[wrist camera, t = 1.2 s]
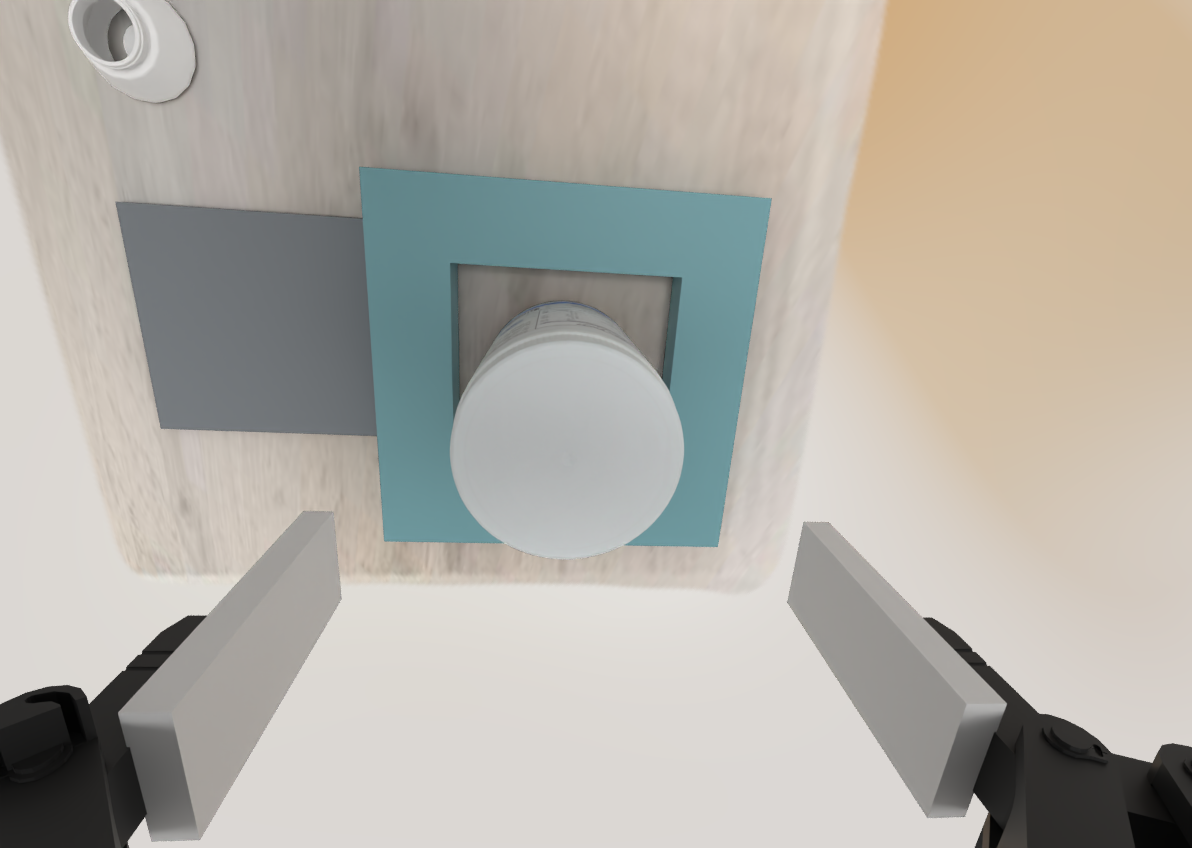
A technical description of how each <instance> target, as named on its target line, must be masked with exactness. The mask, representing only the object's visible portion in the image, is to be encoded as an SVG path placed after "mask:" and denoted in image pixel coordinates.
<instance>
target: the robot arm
mask: <svg viewBox="0 0 1192 848" xmlns="http://www.w3.org/2000/svg"><path fill="white" fill-rule="evenodd" d="M340 601H341V587H340V576H339V566H338V555H337V545H336V534H335V523H334V513H333V512H324V511H303V512H302V513H301V514H300V516H299V517H298V518H297V519H296V520H295V521H294V522H293V523H292V524H291V525H290V526H289V527H288V529H287V530H286V531H285V532H284V533H283V534H282V535H281V536H280V537H279V538H278V539H277V541H276V542H275V543H274V544H273V545H272V546H271V547H270V548H269V549H268V550H267V551H266V552H265V554H264V555H263V556H262V557H261V558H260V559H259V560H258V561H257V562H256V563H255V564H254V565H253V567H252V568H251V569H250V570H249V571H248V572H247V573H246V574H245V575H244V576H243V577H242V579H241V580H240V581H239V582H238V583H237V584H236V585H235V586H234V587H233V588H232V589H231V590H230V592H229V593H228V594H227V595H226V596H225V597H224V598H223V599H222V600H221V601H220V602H219V604H218V605H217V606H216V607H215V608H214V609H213V610H212V611H211V612H210V613H209V614H208V615H207V616H187V617H185V618H183V619H182V620H180V621H178V622H177V623H175V624H174V625H172V626H170V627H169V628H167V629H166V630H164V631H162V632H161V633H160V634H159V635H158V636H157V637H156V638H155V639H154V640H153V641H152V642H151V643H150V644H149V645H148V646H147V647H146V648H145V649H144V650H143V651H142V654H141V655H138V656H137V657H136V658H135V659H134V660H133V661H132V662H131V663H130V664H129V665H128V666H127V667H126V670H125V671H122V672H121V673H120V674H119V675H118V676H117V677H116V678H115V679H114V680H113V681H112V682H111V683H110V684H109V685H108V686H107V687H106V688H105V689H104V690H103V691H102V692H101V693H100V694H99V695H98V696H97V697H96V698H95V699H94V700H93V701H92V702H91V703H90V704H88V700H87V697H86V695H85V694H84V692H83V691H82V690H81V688H77V687H73V686H69V685H63V686H51V687H45V688H42V689H38V690H35V691H31V692H27V693H24V694H22V695H20V696H18V697H15V698H13V699H11V700H9V701H6V702H4V703H2V704H0V848H129V846H128V842H127V841H128V840H129V838H130V837H131V836H132V834H133V833H134V831H135V830H136V829H137V827H138V826H139V824H140V823H141V822H142V820H143V819H144V817H145V818H146V822H147V826H148V830H149V833H150V837H151V841H152V842H153V841H185V840H200V839H201V837H202V836H203V834H204V832H205V831H206V829H207V827H208V825H209V824H210V822H211V820H212V818H213V817H214V815H215V813H216V812H217V810H218V808H219V807H220V805H221V803H222V801H223V800H224V798H225V796H226V795H227V793H228V791H229V790H230V788H231V786H232V785H233V783H234V781H235V779H236V778H237V776H238V774H239V773H240V771H241V769H242V767H243V766H244V764H245V762H246V761H247V759H248V757H249V756H250V754H251V752H252V750H253V749H254V747H255V745H256V744H257V742H258V740H259V739H260V737H261V735H262V734H263V732H264V730H265V728H266V727H267V725H268V723H269V722H270V720H271V718H272V717H273V715H274V713H275V711H276V710H277V708H278V706H279V704H280V703H281V701H282V700H283V698H284V696H285V694H286V693H287V691H288V689H289V688H290V686H291V684H292V683H293V681H294V679H295V677H296V676H297V674H298V672H299V671H300V669H301V667H302V665H303V664H304V662H305V660H306V659H307V657H308V655H309V654H310V652H311V650H312V649H313V647H314V645H315V643H316V642H317V640H318V638H319V637H320V635H321V633H322V632H323V630H324V628H325V626H326V625H327V623H328V621H329V620H330V618H331V616H332V615H333V613H334V611H335V609H336V608H337V606H338V604H339V603H340ZM787 603H788V604H789V606H790V607H791V609H792V610H793V612H794V613H795V615H796V617H797V618H798V620H799V621H800V623H801V624H802V626H803V627H804V629H805V630H806V632H807V633H808V635H809V637H810V638H811V640H812V641H813V643H814V644H815V646H816V647H817V649H818V650H819V652H820V653H821V655H822V656H823V658H824V659H825V661H826V663H827V664H828V666H829V667H830V669H831V670H832V672H833V673H834V675H835V677H836V678H837V679H838V681H839V683H840V684H841V686H842V687H843V689H844V690H845V692H846V693H847V695H848V696H849V698H850V700H851V701H852V703H853V704H854V706H855V707H856V709H857V710H858V712H859V713H860V715H861V717H862V718H863V720H864V721H865V722H866V724H867V725H868V727H869V729H870V730H871V732H872V733H873V735H874V737H875V738H876V739H877V741H878V743H879V744H880V746H881V747H882V749H883V750H884V752H885V753H886V755H887V757H888V758H889V760H890V761H891V763H892V764H893V766H894V767H895V769H896V770H897V772H898V773H899V775H900V777H901V778H902V780H903V781H904V783H905V784H906V786H907V787H908V789H909V790H910V792H911V793H912V795H913V797H914V798H915V800H916V801H917V803H918V804H919V806H920V807H921V809H922V810H923V812H924V813H925V815H926V816H927V818H942V817H965V815H966V812H967V810H968V807H969V804H970V802H971V799H972V796H973V794H974V793H975V794H976V796H977V797H978V798H979V800H980V801H981V802H982V804H983V805H984V806H985V808H986V809H987V810H988V811H989V813H988V815H987V818H986V821H985V823H984V826H983V828H982V831H981V833H980V836H979V838H978V841H977V843H976V846H975V848H1192V747H1189V746H1183V745H1178V744H1173V743H1172V744H1166V745H1162V746H1161V748H1160V750H1159V751H1158V753H1157V755H1156V757H1155V759H1154V761H1153V763H1150V762H1146V761H1141V760H1137V759H1133V758H1129V757H1125V756H1120V755H1116V754H1112V753H1111V752H1110V751H1109V750H1108V749H1107V748H1106V747H1105V746H1104V745H1103V744H1102V743H1101V742H1100V741H1099V740H1098V739H1097V738H1095V737H1094V736H1092V735H1091V734H1089V733H1088V732H1087V731H1085V730H1084V729H1083V728H1081V727H1079V726H1076V725H1075V724H1072V723H1071V722H1069V721H1066V720H1064V719H1061V718H1058V717H1055V716H1052V715H1048V714H1039V713H1037V711H1036V710H1035V709H1033V707H1032V706H1030V705H1029V704H1028V703H1027V702H1026V701H1025V700H1024V699H1023V698H1022V697H1021V696H1020V695H1019V694H1018V693H1017V692H1016V691H1015V690H1014V689H1013V688H1012V687H1011V686H1010V685H1009V684H1008V683H1007V682H1006V681H1005V680H1004V679H1003V678H1002V677H1001V676H1000V675H999V674H998V673H997V672H995V671H994V670H993V669H992V668H991V667H990V666H987V665H986V662H985V661H984V660H983V659H982V658H981V657H980V656H979V655H978V654H977V653H976V652H973V651H972V648H971V647H970V646H969V645H968V644H967V643H966V642H964V640H963V639H962V638H960V637H959V636H958V635H957V634H956V633H955V632H954V631H952V630H951V629H949V628H948V627H946V626H944V625H943V624H941V623H940V622H938V621H937V620H935V619H933V618H922V617H921V616H920V615H919V614H918V613H917V611H916V610H915V609H914V608H913V607H911V605H910V604H909V603H908V602H907V601H906V600H905V599H904V598H903V597H902V596H901V595H900V594H899V593H898V592H897V591H896V590H895V589H894V588H893V587H892V586H891V585H890V584H889V583H888V582H887V581H886V580H885V579H884V578H883V577H882V576H881V575H880V574H879V573H878V572H877V571H876V570H875V569H874V568H873V567H872V566H871V565H870V564H869V563H868V562H867V561H866V560H865V559H864V558H863V557H862V556H861V555H860V554H859V553H858V551H857V550H856V549H855V548H854V547H853V546H852V545H851V544H850V543H848V541H847V540H846V539H845V538H844V537H843V536H842V535H841V534H840V533H839V532H838V531H837V530H836V529H835V528H834V527H833V526H832V525H831V524H830V523H829V522H804V523H803V527H802V532H801V537H800V542H799V547H798V552H797V557H796V562H795V567H794V572H793V577H792V582H791V587H790V591H789V596H788V602H787Z"/></svg>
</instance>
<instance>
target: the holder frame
mask: <svg viewBox="0 0 1192 848" xmlns="http://www.w3.org/2000/svg"><path fill="white" fill-rule="evenodd" d="M359 171H360V186H361V201H362V216H363V231H364V246H365V261H366V276H367V291H368V306H369V321H370V336H371V351H372V366H373V380H374V395H375V410H376V425H377V440H378V455H379V470H380V485H381V500H382V515H383V530H384V541H395V542H455V543H503V542H502V541H500V540H498V539H497V538H495V537H494V536H493V535H491V534H490V533H489V532H488V531H487V530H485V529H484V528H483V527H482V526H481V525H480V524H479V523H478V522H477V520H476V519H475V518H474V517H473V516H472V514H471V513H470V512H469V510H468V509H467V508H466V506H465V504H464V502H463V501H462V499H461V497H460V495H459V492H458V490H457V487H456V484H455V482H454V478H453V474H452V469H451V462H450V440H451V434H452V428H453V423H454V418H455V414H456V410H457V407H458V404H459V402H460V393H459V329H458V264H473V265H489V266H505V267H521V268H537V269H553V270H569V271H585V272H601V273H617V274H633V275H649V276H665V277H673V282H672V292H671V301H670V310H669V320H668V329H667V339H666V348H665V358H664V367H663V376H662V380H663V382H664V383H665V385H666V386H667V388H668V390H669V392H670V394H671V397H672V399H673V401H674V404H675V407H676V410H677V412H678V415H679V418H680V422H681V426H682V431H683V439H684V459H683V466H682V471H681V475H680V479H679V483H678V485H677V487H676V490H675V492H674V494H673V496H672V498H671V500H670V502H669V503H668V505H667V506H666V508H665V509H664V511H663V512H662V513H661V515H660V516H659V517H658V518H657V519H656V520H655V522H654V523H653V524H652V525H651V526H650V527H649V528H648V529H646V530H645V531H644V532H643V533H642V534H640V535H639V536H638V537H636V538H635V539H633V540H632V541H630V542H629V543H627V544H625V545H633V546H693V547H718V542H719V536H720V529H721V523H722V516H723V510H724V504H725V497H726V491H727V484H728V478H729V471H730V465H731V458H732V452H733V445H734V439H735V432H736V426H737V420H738V413H739V407H740V400H741V394H742V387H743V381H744V374H745V368H746V361H747V355H748V349H749V342H750V336H751V329H752V323H753V316H754V310H755V303H756V297H757V290H758V284H759V277H760V271H761V265H762V258H763V252H764V245H765V239H766V232H767V226H768V219H769V213H770V206H771V200H772V198H759V197H746V196H733V195H720V194H707V193H694V192H681V191H668V190H655V189H642V188H629V187H616V186H603V185H590V184H577V183H564V182H551V181H538V180H525V179H512V178H499V177H486V176H473V175H460V174H447V173H434V172H421V171H408V170H395V169H382V168H369V167H359Z"/></svg>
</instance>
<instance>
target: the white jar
mask: <svg viewBox="0 0 1192 848" xmlns="http://www.w3.org/2000/svg"><path fill="white" fill-rule="evenodd" d="M121 9H124V10H125V11H126V13H127V14H128V16H129V18H130V19H131V21H132V24H133V25H131V26H129V27H128V28H127V30H126V31H125V33H124V37H123V44H124V48H125V51H126V53H127V55H128V57H126V58H125V59H123V60H121V61H117V62H115V61H114V59H113V57H112V55H111V53H110V50H109V47H108V37H107V31H108V28H109V25H110V22H111V19H112V18H113V17H114V16H115V15H116V14H117V13H118V12H119V11H120V10H121ZM68 24H69V28H70V31H71V34H72V36H73V38H74V40H75V42H76V43H77V45H78V46H79V48H80V49H81V50H82V51H83V53H84V55H85V56H86V57H87V59H88V60H89V61H90V63H91V64H92V65H93V66H94V68H95V69H96V70H97V71H98V72H99V73H100V74H101V75H102V76H103V78H104V79H105V80H106V81H107V82H108V83H109V84H110V85H111V86H112V87H114V88H116V89H117V90H119V91H121V92H122V93H124V94H126V95H128V96H129V97H131V98H134V99H137V100H143V101H148V102H154V103H160V102H163V101H167V100H171V99H175V98H176V97H178V96H179V95H180V94H181V93H182V92H183V91H184V90H185V89H186V88H187V87H188V86H189V84H190V82H191V79H192V76H193V73H194V70H195V67H196V66H195V50H194V43H193V41H192V38H191V36H190V34H189V31H188V29H187V26H186V24H185V22H184V21H183V20H182V18H181V17H180V16H179V15H178V14H177V12H176V11H175V10H174V9H173V8H172V6H171V5H170V4H169V3H168V2H166V1H165V0H72V2H71V4H70V7H69V10H68Z"/></svg>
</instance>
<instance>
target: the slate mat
mask: <svg viewBox="0 0 1192 848" xmlns="http://www.w3.org/2000/svg"><path fill="white" fill-rule="evenodd" d="M116 207H117V212H118V217H119V222H120V227H121V232H122V237H123V242H124V247H125V252H126V257H127V262H128V267H129V272H130V277H131V282H132V287H133V292H134V297H135V302H136V307H137V312H138V317H139V322H140V327H141V332H142V337H143V342H144V347H145V352H146V357H147V362H148V367H149V372H150V377H151V382H152V387H153V392H154V397H155V402H156V407H157V412H158V417H159V422H160V427H161V429H186V430H215V431H245V432H275V433H304V434H334V435H363V436H377V425H376V410H375V395H374V380H373V366H372V351H371V336H370V321H369V306H368V291H367V276H366V261H365V246H364V231H363V219H361V218H346V217H332V216H317V215H303V214H288V213H273V212H259V211H244V210H230V209H215V208H201V207H186V206H171V205H157V204H142V203H128V202H116Z"/></svg>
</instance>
